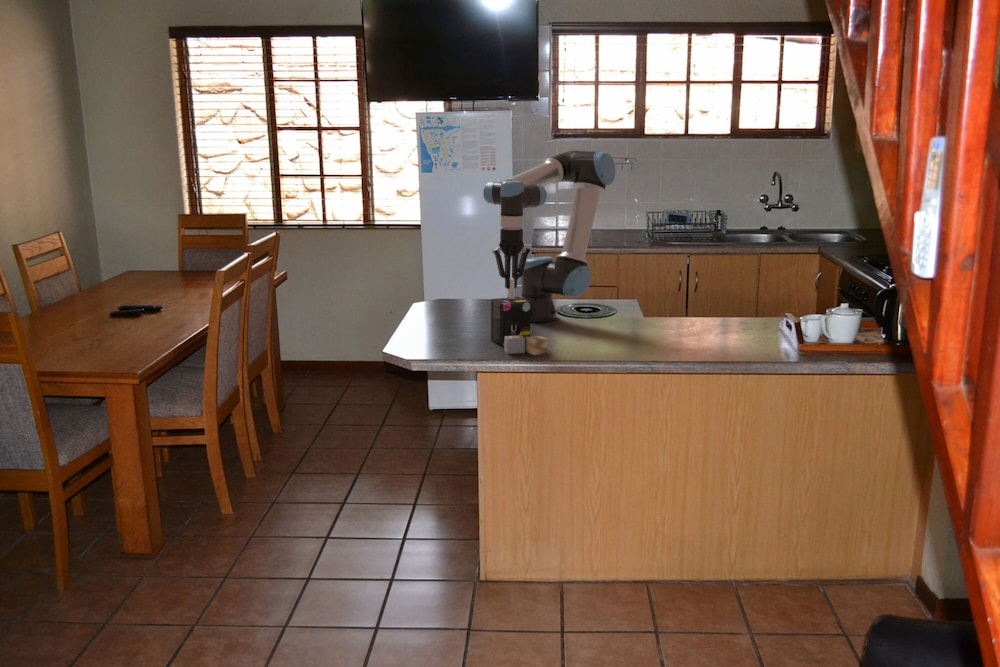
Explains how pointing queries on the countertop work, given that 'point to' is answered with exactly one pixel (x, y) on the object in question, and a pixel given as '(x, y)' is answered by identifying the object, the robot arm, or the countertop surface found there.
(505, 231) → the robot arm
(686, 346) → the countertop surface
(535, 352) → the beech cube
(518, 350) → the light grey block
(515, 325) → the tampon box
